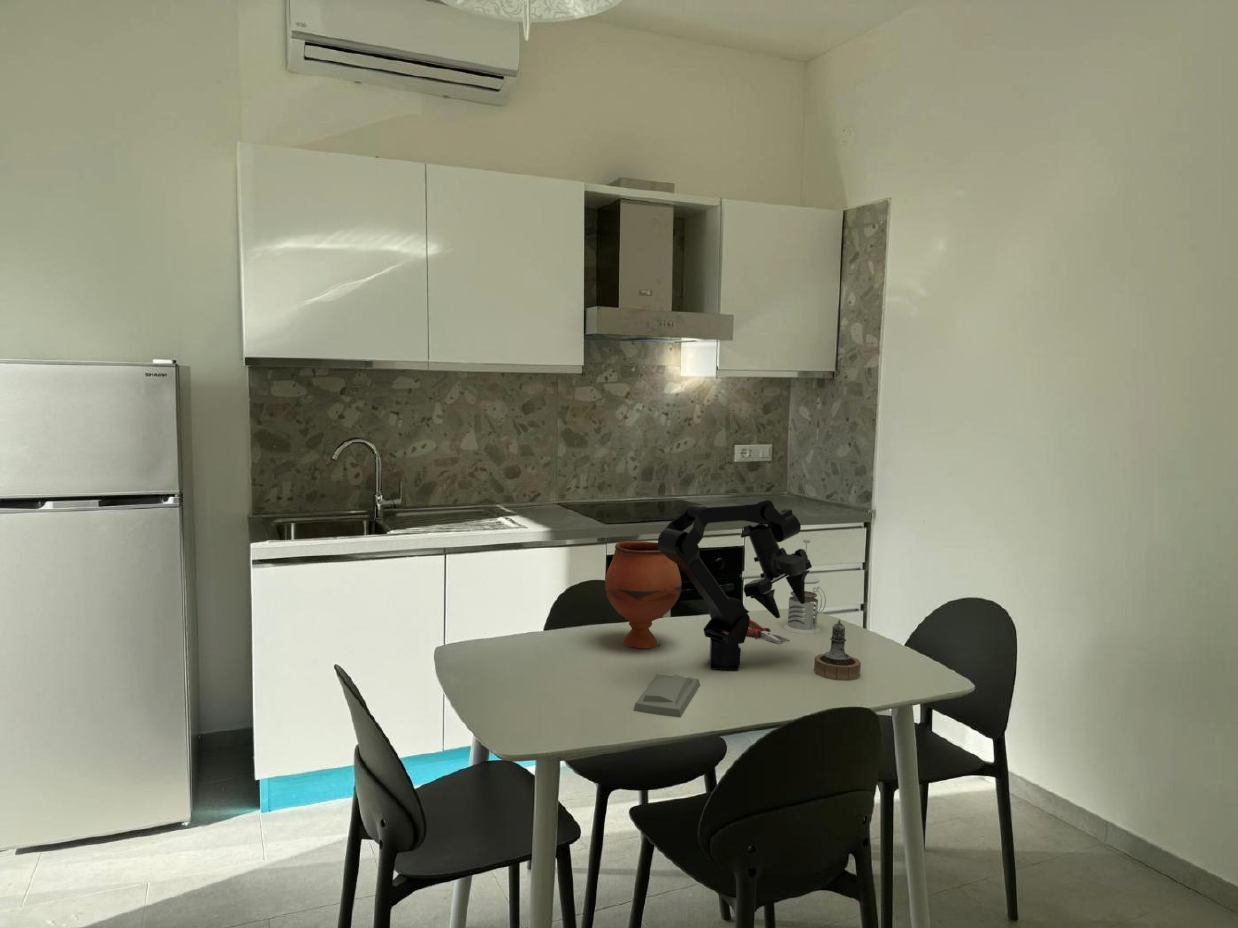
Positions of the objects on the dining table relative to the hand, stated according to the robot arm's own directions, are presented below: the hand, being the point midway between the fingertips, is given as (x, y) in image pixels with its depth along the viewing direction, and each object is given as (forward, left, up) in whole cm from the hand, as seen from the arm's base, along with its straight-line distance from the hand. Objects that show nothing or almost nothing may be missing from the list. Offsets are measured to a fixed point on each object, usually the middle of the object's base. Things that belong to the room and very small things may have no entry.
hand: (790, 610), depth 212 cm
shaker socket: (+10, -6, -13) cm, 17 cm away
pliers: (-6, +23, -13) cm, 28 cm away
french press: (+10, +31, -13) cm, 35 cm away
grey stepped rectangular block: (-30, -27, -13) cm, 42 cm away
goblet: (-35, +12, -13) cm, 39 cm away
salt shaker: (+10, -6, -12) cm, 17 cm away
